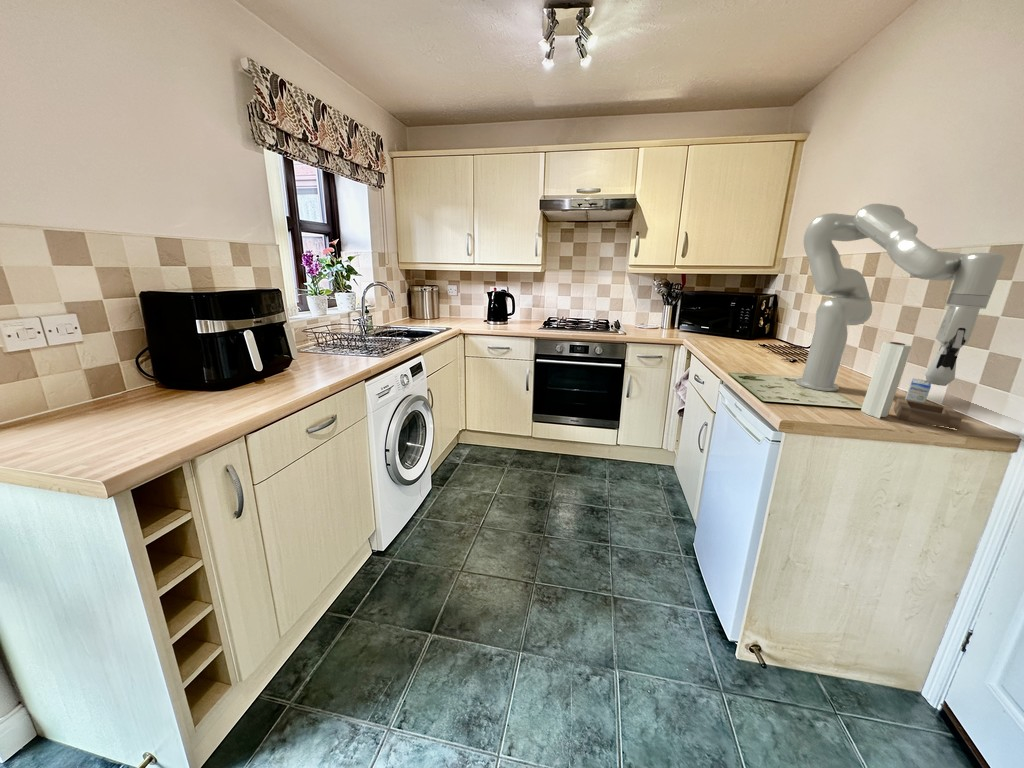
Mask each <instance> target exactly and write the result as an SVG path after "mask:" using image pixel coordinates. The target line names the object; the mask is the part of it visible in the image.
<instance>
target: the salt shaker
mask: <svg viewBox="0 0 1024 768" xmlns="http://www.w3.org/2000/svg"><path fill="white" fill-rule="evenodd" d="M953 343H954V342H953V341H950V342H949V344H953ZM962 344H963V343H962ZM939 345H940V347H941V346H942V348H941V349H940V348H939V349H940V351H939V350H938V352H937V354H936V355H935V358H934V359H933V361H932V362H931V364H930V365H929V367H928V369H927V370H926V372H925V374H924V376H925V380H926V381H927V382H928V383H930V384H931V385H934V386H935V385H936V386H943V387H946V386H948V385H950V383H951V382H953V381H954V380H955V377H956V369H957V361H956V362H955V365H954V367H953V370H951V369H950V367H943V366H940V367H939V368H938V369H937V368H936V366H937V363H938V360H939V357H940V355H941V354H943V351H944V348H945V345H946V341H945V343H941V342H939ZM963 346H964V345H961V347H960V349H961V348H962V347H963ZM949 347H950V346H949Z"/></svg>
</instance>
